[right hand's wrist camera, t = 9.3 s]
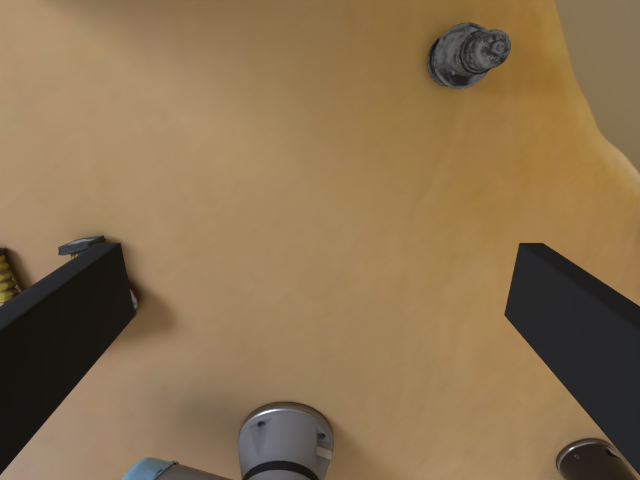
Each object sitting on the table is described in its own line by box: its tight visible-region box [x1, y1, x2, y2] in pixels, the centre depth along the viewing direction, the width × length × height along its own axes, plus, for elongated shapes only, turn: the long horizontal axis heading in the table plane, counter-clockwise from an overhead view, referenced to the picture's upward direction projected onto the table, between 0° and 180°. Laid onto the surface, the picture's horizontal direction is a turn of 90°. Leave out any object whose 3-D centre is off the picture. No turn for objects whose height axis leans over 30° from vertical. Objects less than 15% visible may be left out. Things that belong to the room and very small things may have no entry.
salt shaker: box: [427, 23, 511, 89], centre depth 34 cm, size 6×6×12 cm
